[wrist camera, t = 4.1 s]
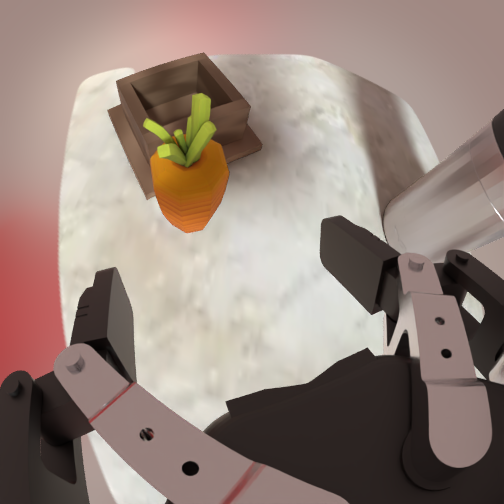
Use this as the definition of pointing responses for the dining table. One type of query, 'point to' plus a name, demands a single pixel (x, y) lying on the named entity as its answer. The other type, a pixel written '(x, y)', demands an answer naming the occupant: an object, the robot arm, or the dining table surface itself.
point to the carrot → (189, 169)
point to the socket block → (178, 111)
